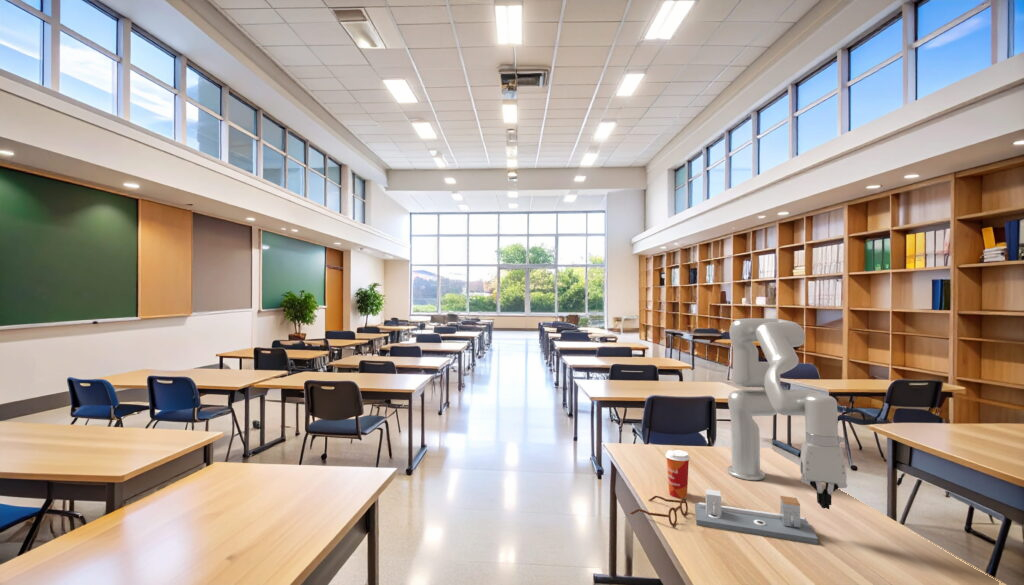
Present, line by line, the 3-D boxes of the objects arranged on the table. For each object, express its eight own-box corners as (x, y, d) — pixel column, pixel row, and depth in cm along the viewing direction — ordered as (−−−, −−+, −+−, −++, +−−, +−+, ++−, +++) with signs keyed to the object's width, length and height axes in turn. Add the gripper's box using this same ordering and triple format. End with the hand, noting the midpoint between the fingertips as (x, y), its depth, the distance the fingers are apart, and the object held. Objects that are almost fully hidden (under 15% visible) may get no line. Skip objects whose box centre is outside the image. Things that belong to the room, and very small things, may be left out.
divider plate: (695, 507, 140) (694, 483, 140) (805, 523, 129) (805, 497, 129) (696, 524, 128) (696, 498, 129) (817, 544, 118) (817, 515, 118)
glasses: (671, 529, 127) (671, 512, 127) (630, 515, 135) (629, 498, 136) (688, 513, 136) (688, 497, 136) (649, 501, 145) (648, 485, 145)
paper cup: (662, 490, 152) (661, 449, 153) (683, 489, 153) (683, 448, 153) (672, 500, 145) (671, 457, 145) (694, 499, 145) (694, 456, 146)
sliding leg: (780, 518, 128) (780, 495, 128) (796, 521, 127) (796, 497, 127) (784, 526, 124) (784, 502, 124) (801, 529, 122) (800, 504, 123)
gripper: (849, 438, 124) (851, 505, 123) (787, 433, 130) (790, 497, 129) (859, 446, 117) (862, 516, 116) (794, 440, 123) (796, 508, 122)
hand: (824, 506), depth 122 cm, fingers closed
